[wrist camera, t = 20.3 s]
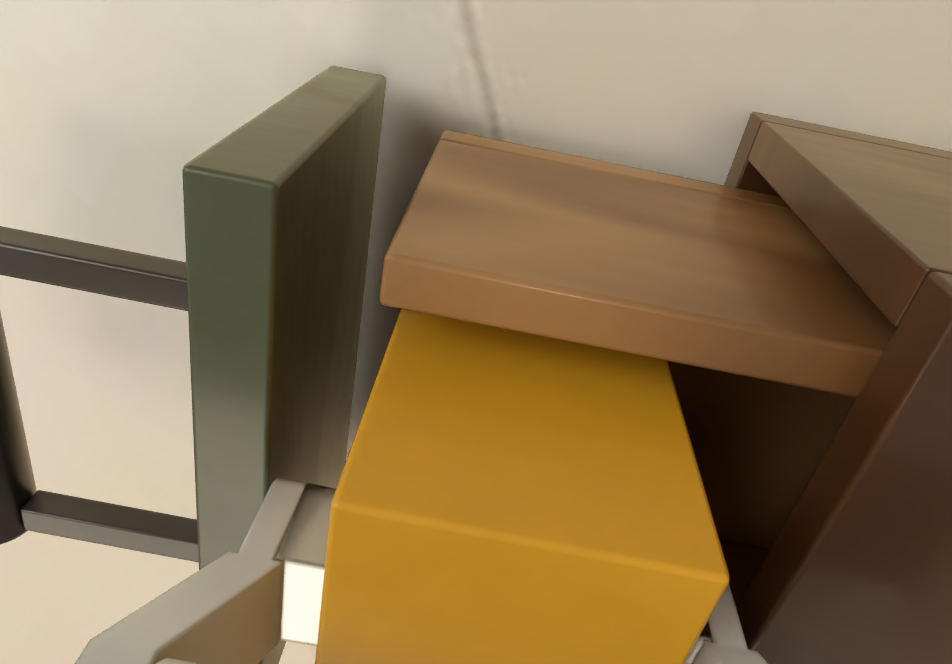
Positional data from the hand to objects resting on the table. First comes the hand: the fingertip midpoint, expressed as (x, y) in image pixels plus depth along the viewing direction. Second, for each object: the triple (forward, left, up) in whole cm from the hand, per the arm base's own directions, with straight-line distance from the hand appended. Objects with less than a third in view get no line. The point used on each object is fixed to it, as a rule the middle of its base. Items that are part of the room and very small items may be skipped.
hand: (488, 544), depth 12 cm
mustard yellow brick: (0, 0, -2) cm, 2 cm away
